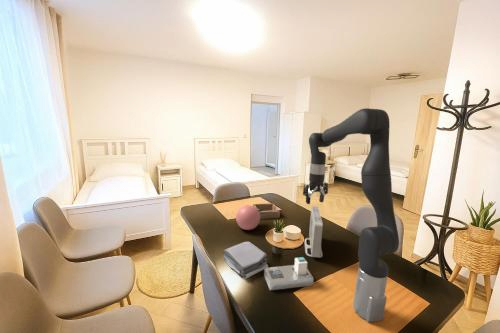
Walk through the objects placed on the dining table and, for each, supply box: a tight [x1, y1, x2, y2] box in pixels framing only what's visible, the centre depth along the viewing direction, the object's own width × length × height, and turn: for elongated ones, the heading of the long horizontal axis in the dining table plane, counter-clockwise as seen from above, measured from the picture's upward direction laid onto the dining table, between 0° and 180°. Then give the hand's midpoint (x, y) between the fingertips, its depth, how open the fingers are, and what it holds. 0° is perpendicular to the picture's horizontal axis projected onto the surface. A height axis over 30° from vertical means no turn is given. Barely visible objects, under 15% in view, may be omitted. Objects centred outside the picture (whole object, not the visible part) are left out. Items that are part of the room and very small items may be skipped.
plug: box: [293, 256, 308, 276], centre depth 98 cm, size 4×4×10 cm
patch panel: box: [263, 264, 314, 291], centre depth 98 cm, size 10×19×4 cm, turn 101°
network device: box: [304, 206, 324, 258], centre depth 123 cm, size 26×9×20 cm, turn 168°
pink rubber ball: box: [235, 204, 261, 231], centre depth 145 cm, size 15×20×15 cm
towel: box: [222, 241, 269, 280], centre depth 108 cm, size 15×18×8 cm
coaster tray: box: [252, 202, 281, 220], centre depth 169 cm, size 16×16×5 cm
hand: (314, 202), depth 117 cm, fingers open, 8 cm apart
